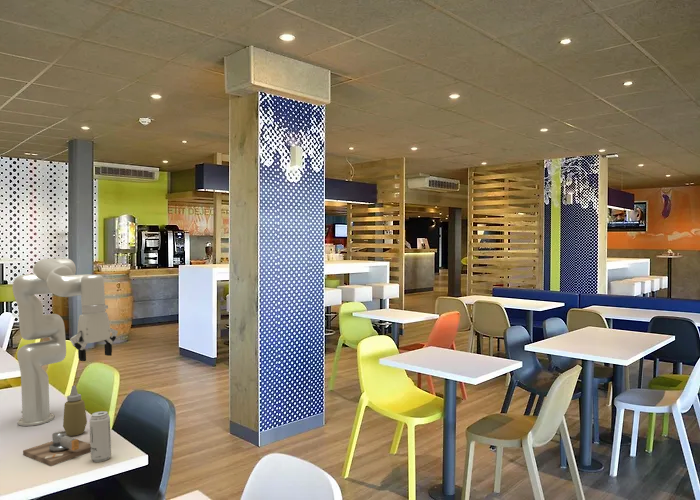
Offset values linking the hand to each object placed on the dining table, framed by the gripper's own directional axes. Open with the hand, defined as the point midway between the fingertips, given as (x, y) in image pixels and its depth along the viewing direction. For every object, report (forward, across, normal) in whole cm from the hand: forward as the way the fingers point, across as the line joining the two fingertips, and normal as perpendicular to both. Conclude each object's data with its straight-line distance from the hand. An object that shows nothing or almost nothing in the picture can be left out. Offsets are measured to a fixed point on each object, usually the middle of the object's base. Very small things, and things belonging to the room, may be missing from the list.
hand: (95, 358), depth 188 cm
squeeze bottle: (+30, -2, -18) cm, 35 cm away
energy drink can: (+31, +8, +13) cm, 34 cm away
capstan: (+29, +12, -1) cm, 31 cm away
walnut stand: (+30, +12, -5) cm, 33 cm away
